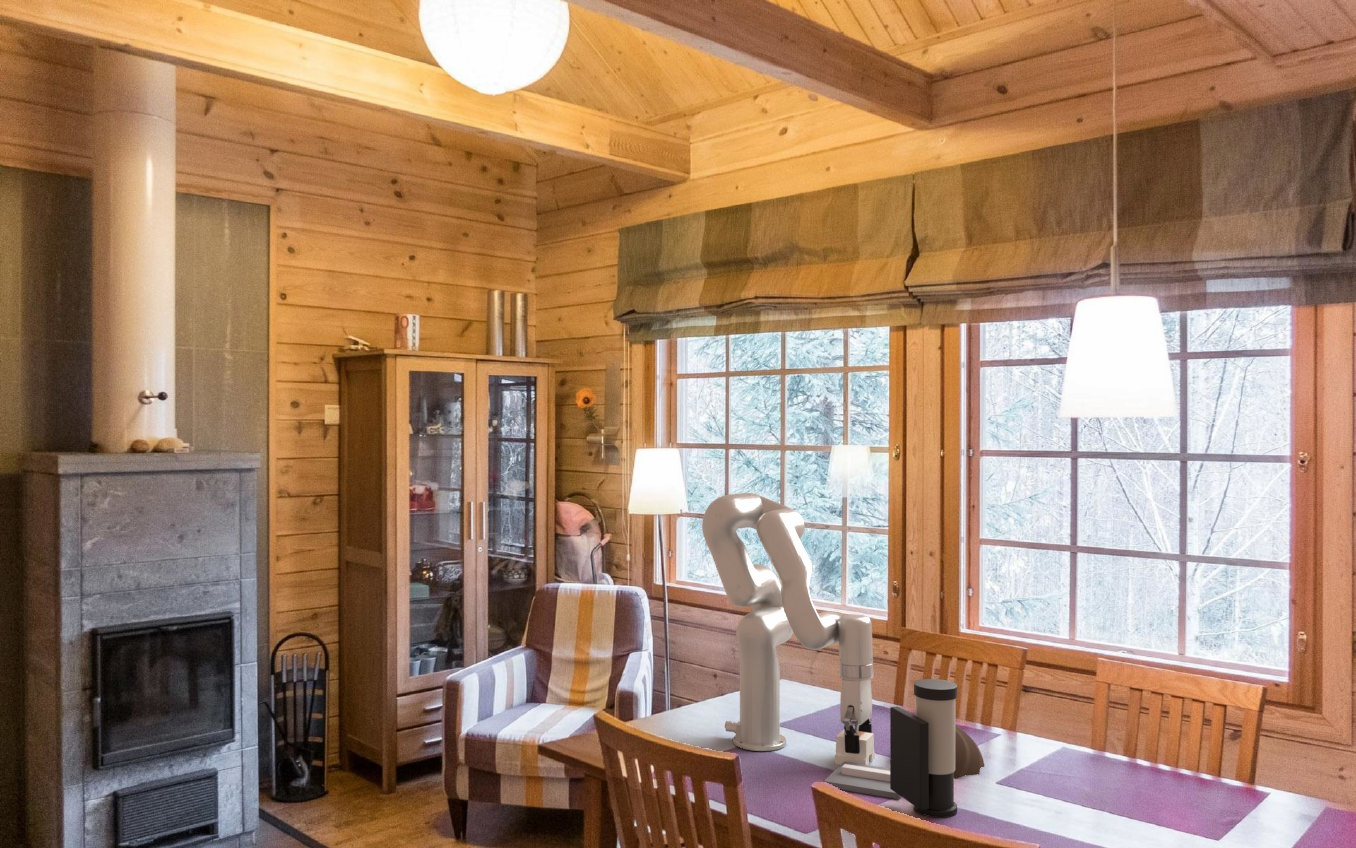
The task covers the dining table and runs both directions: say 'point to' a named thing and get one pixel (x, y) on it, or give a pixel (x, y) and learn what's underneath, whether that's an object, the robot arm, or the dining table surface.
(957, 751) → the decorative dome
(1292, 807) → the dining table surface
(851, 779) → the rail board
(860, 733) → the block
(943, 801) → the light fixture
